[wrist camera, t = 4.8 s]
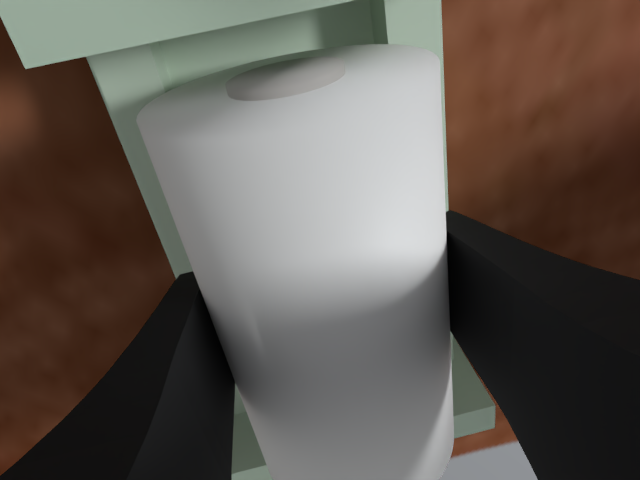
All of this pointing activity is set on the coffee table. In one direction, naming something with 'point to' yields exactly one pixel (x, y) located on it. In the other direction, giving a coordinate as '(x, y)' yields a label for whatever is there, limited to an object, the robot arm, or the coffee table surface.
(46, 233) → the coffee table surface
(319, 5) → the holder
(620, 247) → the coffee table surface
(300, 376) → the roll
